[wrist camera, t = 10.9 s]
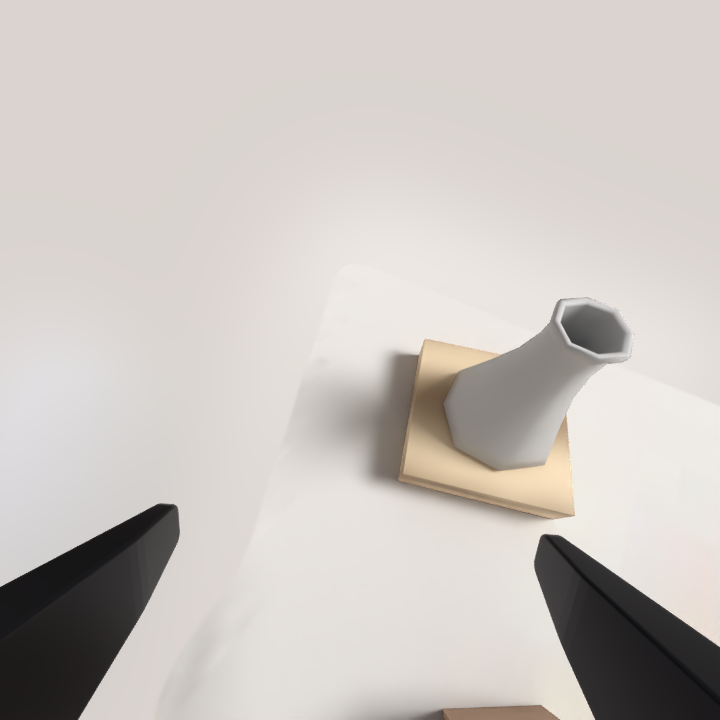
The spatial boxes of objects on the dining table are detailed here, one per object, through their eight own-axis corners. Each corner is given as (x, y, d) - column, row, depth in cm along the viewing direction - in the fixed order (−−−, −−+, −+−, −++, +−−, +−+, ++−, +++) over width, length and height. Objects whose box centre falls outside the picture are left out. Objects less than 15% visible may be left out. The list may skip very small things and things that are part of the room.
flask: (445, 360, 24) (501, 250, 16) (548, 379, 24) (664, 277, 15) (437, 459, 20) (505, 388, 12) (558, 484, 20) (720, 430, 11)
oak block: (547, 520, 22) (574, 515, 19) (396, 482, 23) (403, 473, 20) (541, 385, 27) (562, 367, 24) (417, 358, 28) (424, 338, 25)
